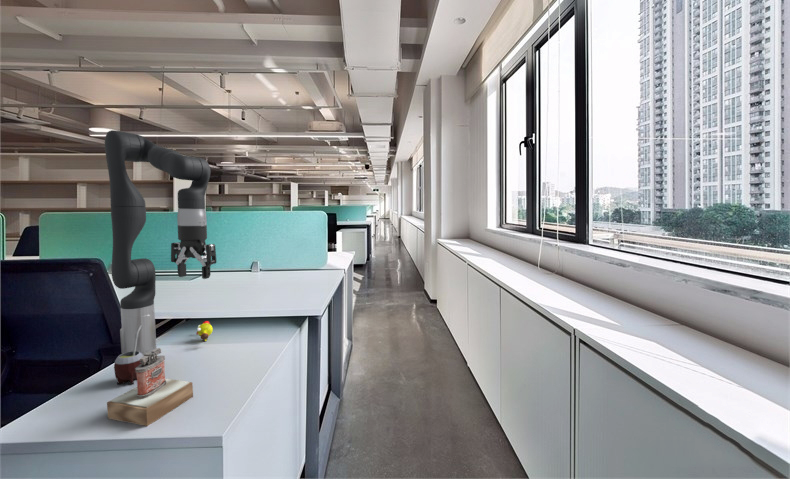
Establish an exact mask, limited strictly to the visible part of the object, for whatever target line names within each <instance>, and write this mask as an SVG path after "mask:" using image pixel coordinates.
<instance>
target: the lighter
mask: <svg viewBox="0 0 790 479" xmlns="http://www.w3.org/2000/svg"><path fill="white" fill-rule="evenodd" d="M160 354H162V349H161V348H160V347H156V349H155V350H153V351H151V352H150V353H145V354H144V356H143V357H141V358H140V363H141V364H140V365H139V366H137V367H136V368H135V371H136V372H137V380H136V383H137V384H136V387H137V389H138V394H137V399H145V398H147V397H149V396H151V395H153V394H154V393H156V392H158V391H159V390H160V389H162V388H163V387H164V386H165V385H166V380H165V378H166V370H165V359H166V356H165V355H160Z"/></svg>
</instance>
